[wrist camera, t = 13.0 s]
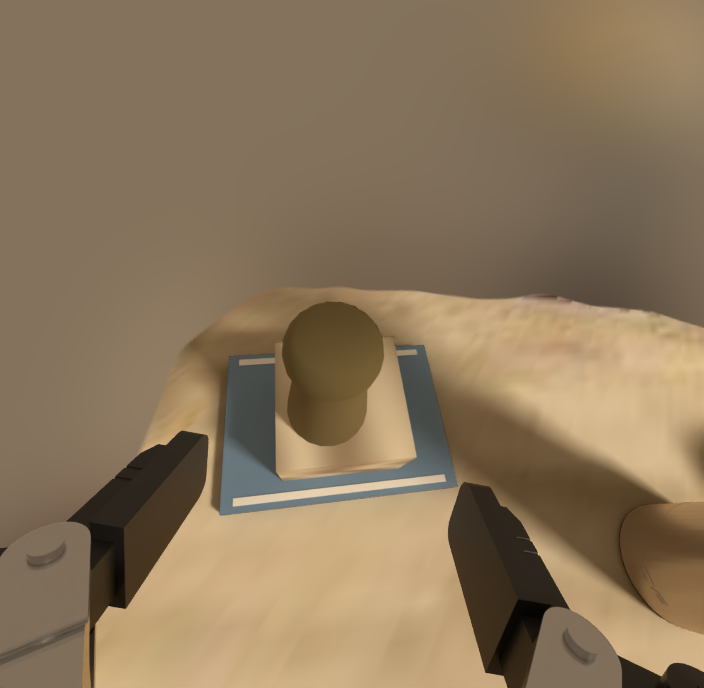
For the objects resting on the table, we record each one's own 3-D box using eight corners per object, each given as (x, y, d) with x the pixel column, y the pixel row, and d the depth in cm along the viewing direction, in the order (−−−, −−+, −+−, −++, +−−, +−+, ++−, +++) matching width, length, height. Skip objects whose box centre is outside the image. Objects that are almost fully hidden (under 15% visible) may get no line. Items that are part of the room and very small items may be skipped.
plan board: (420, 350, 37) (424, 344, 35) (452, 487, 30) (458, 486, 29) (231, 361, 34) (228, 355, 33) (223, 515, 27) (219, 515, 26)
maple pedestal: (381, 365, 34) (393, 336, 29) (398, 468, 29) (416, 457, 24) (281, 371, 33) (274, 342, 27) (283, 481, 28) (275, 471, 23)
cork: (295, 363, 27) (285, 274, 17) (370, 375, 27) (402, 293, 17) (278, 440, 24) (253, 384, 14) (362, 452, 24) (395, 406, 14)
